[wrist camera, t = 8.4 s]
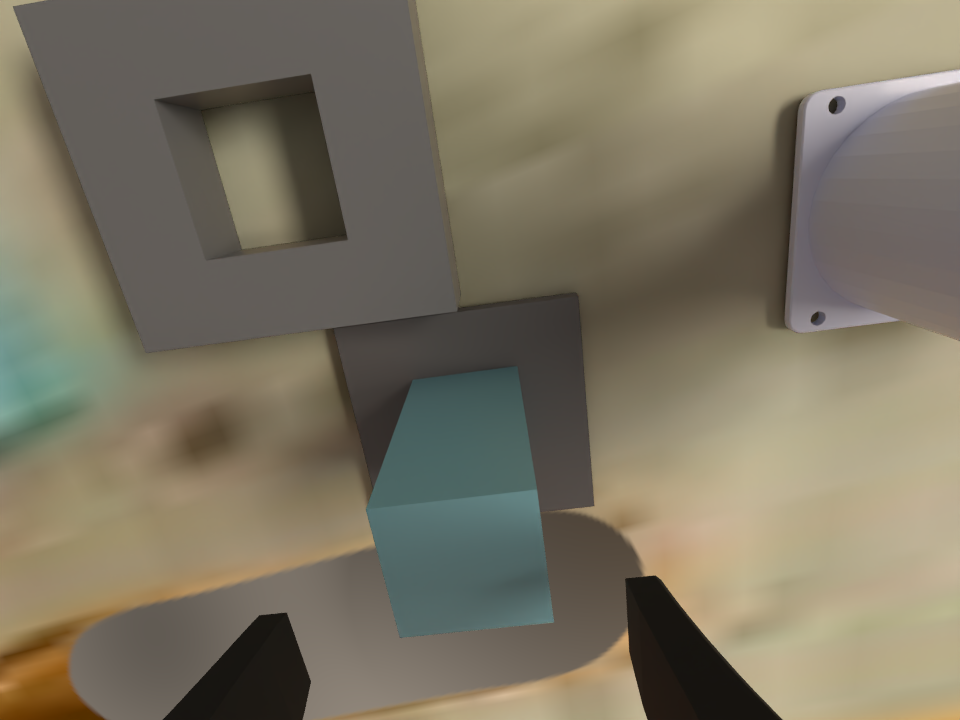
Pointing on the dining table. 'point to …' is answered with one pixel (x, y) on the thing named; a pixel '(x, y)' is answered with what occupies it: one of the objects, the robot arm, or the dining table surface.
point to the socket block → (194, 174)
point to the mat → (476, 347)
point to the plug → (461, 509)
